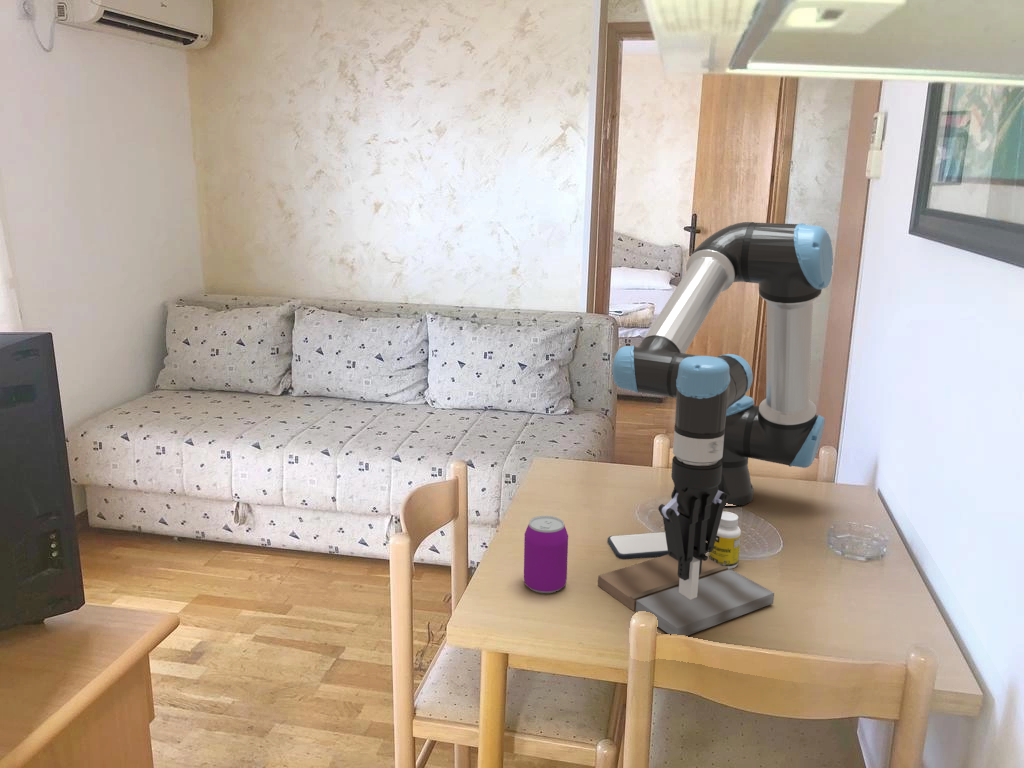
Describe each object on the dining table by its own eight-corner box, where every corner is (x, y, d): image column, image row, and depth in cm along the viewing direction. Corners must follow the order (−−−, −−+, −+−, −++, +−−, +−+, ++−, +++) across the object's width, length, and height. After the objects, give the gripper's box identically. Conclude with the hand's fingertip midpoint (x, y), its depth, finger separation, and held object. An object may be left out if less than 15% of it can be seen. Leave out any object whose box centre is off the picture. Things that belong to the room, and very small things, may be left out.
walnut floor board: (689, 557, 154) (689, 546, 154) (727, 579, 146) (728, 567, 145) (597, 585, 143) (598, 573, 142) (633, 611, 135) (634, 598, 134)
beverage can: (532, 571, 148) (534, 511, 145) (572, 579, 145) (574, 518, 142) (517, 590, 141) (518, 527, 138) (558, 599, 138) (560, 535, 135)
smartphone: (618, 563, 153) (697, 556, 155) (618, 555, 153) (698, 548, 155) (605, 542, 161) (681, 536, 164) (606, 535, 161) (681, 529, 163)
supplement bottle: (703, 563, 152) (707, 515, 149) (717, 553, 156) (721, 507, 153) (729, 572, 148) (733, 524, 146) (743, 563, 152) (747, 515, 150)
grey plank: (729, 579, 145) (730, 569, 145) (773, 603, 137) (774, 592, 137) (635, 611, 134) (636, 600, 134) (676, 639, 126) (677, 628, 125)
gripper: (682, 473, 116) (673, 616, 123) (746, 457, 123) (734, 594, 129) (648, 457, 123) (641, 595, 129) (710, 443, 129) (701, 574, 135)
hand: (687, 594), depth 129 cm, fingers closed
